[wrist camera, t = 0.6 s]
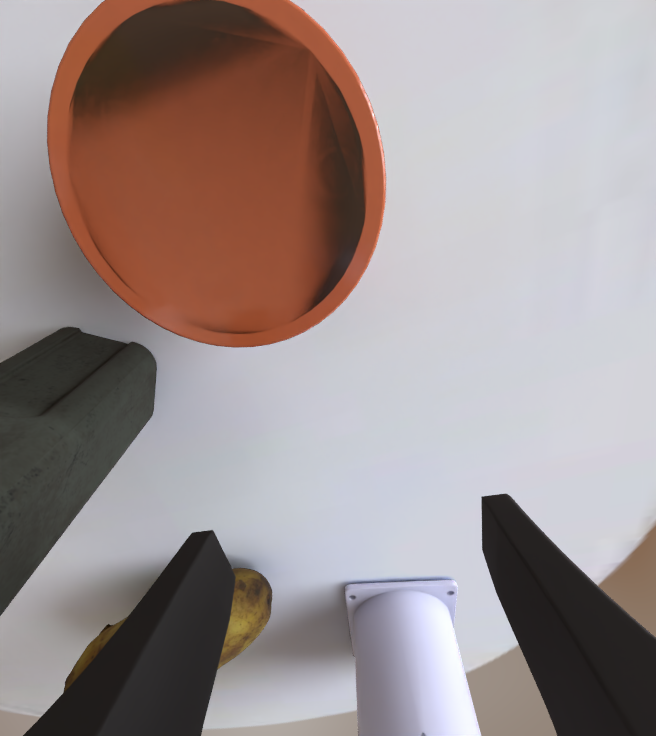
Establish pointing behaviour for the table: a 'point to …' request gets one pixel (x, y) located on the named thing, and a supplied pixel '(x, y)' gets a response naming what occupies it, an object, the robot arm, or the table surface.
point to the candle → (62, 437)
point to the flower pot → (217, 165)
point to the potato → (242, 630)
